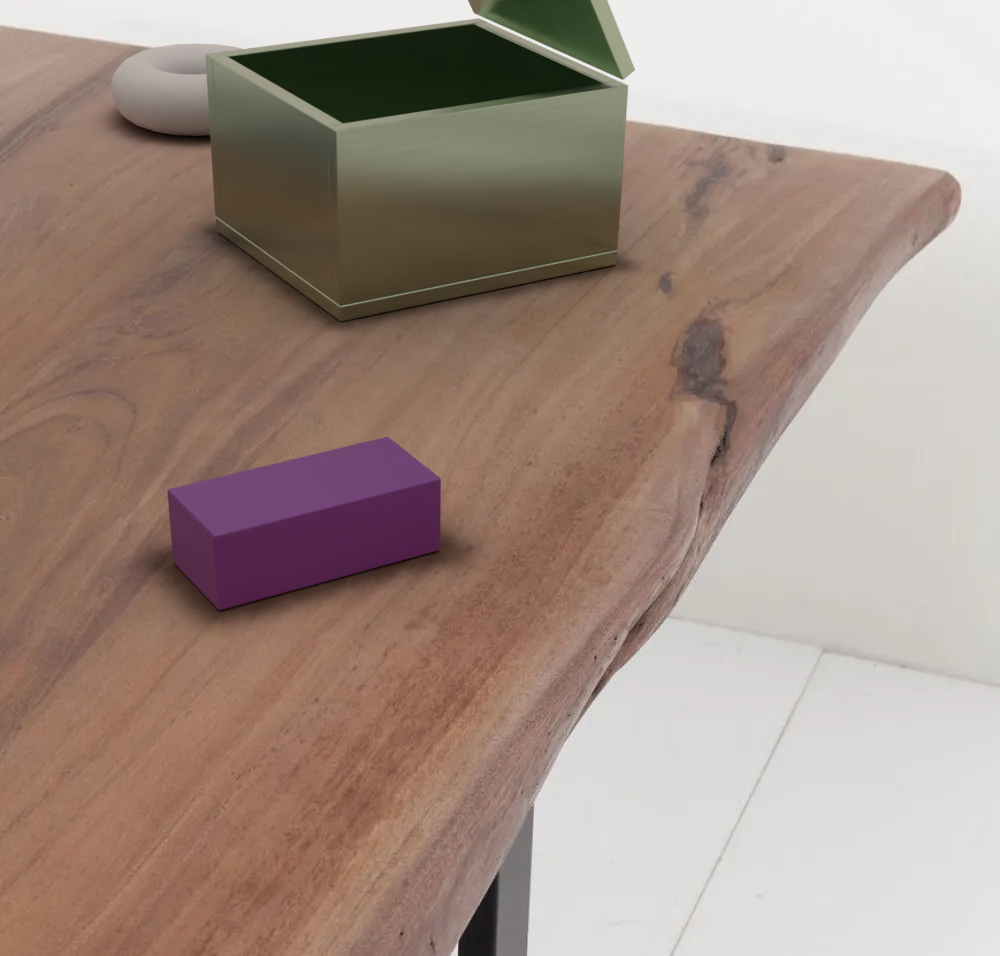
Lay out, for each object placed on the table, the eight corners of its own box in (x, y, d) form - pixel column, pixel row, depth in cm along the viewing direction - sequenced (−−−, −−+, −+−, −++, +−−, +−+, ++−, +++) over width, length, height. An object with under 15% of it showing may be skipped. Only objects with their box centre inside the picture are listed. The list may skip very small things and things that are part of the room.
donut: (95, 105, 114) (139, 150, 107) (89, 45, 112) (133, 87, 105) (253, 89, 117) (306, 132, 110) (250, 31, 116) (304, 71, 108)
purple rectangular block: (218, 611, 66) (213, 535, 64) (172, 562, 69) (166, 488, 67) (441, 550, 70) (441, 477, 68) (388, 506, 73) (388, 435, 71)
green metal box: (340, 322, 87) (335, 130, 82) (215, 231, 97) (204, 53, 91) (617, 265, 94) (628, 85, 89) (475, 185, 103) (479, 18, 98)
